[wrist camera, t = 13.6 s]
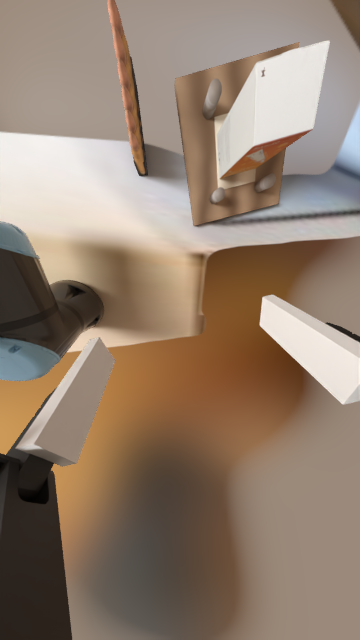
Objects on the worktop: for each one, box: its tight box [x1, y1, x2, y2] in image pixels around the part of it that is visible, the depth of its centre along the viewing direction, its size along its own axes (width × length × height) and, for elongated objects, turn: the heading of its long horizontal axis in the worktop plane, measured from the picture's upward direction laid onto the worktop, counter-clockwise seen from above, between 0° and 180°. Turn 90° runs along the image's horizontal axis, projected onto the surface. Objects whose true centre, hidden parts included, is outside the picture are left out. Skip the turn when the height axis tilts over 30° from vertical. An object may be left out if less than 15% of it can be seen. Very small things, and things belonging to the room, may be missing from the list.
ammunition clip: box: [108, 0, 148, 176], centre depth 21 cm, size 11×2×12 cm, turn 3°
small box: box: [217, 40, 330, 179], centre depth 22 cm, size 8×6×13 cm
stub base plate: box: [175, 42, 299, 226], centre depth 26 cm, size 20×20×6 cm
